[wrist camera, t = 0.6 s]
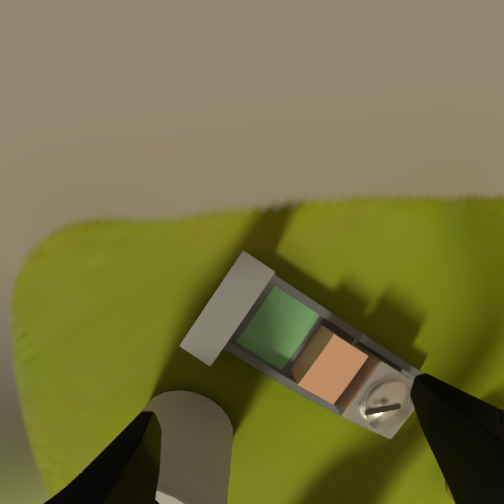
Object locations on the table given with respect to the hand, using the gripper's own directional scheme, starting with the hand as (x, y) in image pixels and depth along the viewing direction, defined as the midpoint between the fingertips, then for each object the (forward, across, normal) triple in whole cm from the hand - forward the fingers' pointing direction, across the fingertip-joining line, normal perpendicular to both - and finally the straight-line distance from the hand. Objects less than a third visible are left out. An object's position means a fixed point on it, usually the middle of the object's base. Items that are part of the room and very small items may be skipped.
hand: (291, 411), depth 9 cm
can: (+10, +7, +12) cm, 17 cm away
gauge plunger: (+10, -7, +9) cm, 16 cm away
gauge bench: (+11, -4, +7) cm, 14 cm away
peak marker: (+11, -4, +7) cm, 14 cm away
